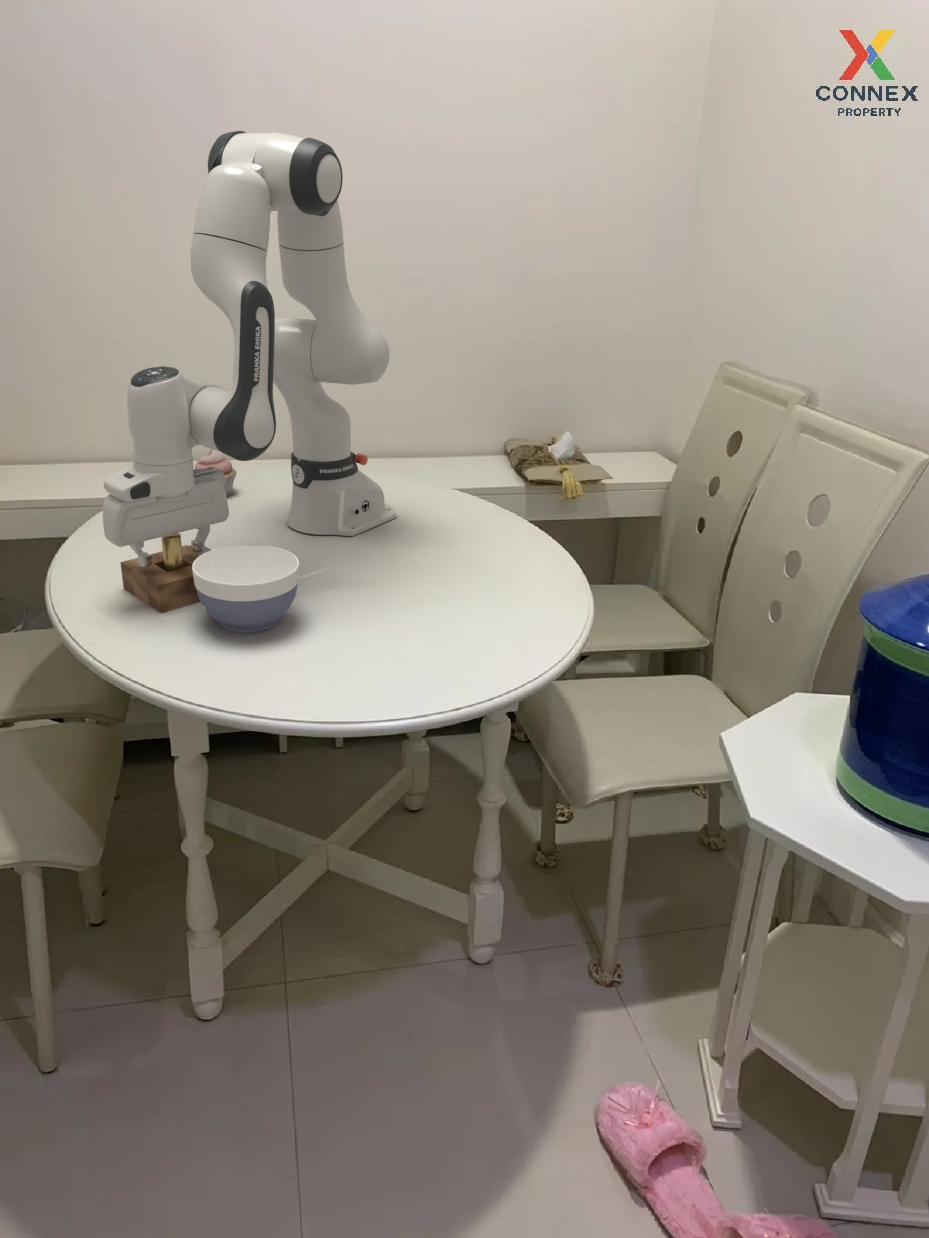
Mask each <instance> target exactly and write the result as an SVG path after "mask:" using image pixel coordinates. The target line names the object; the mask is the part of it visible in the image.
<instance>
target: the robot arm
mask: <svg viewBox="0 0 929 1238" xmlns="http://www.w3.org/2000/svg"><path fill="white" fill-rule="evenodd" d="M334 150H335V149H334V148H333V147H332V146H331V145H329V144H327V143H326V142H323V141H321V140H319V139H316V138H312V137H306V138H304V137H301V136H297V135H292V134H288V133H283V132H277V131H273V132H246V131H243V130H236V131H235V130H234V131H229V132H225V133H222V134H221V135H219V136H218V137H217V138H216V140H215V141H214V143H213V144H212V146H211V148H210V151H209V153H208V158H207V173H208V175H207V177H206V180H205V182H204V185H203V189H202V192H201V195H200V198H199V202H198V207H197V209H196V215H195V221H194V226H193V234H192V238H191V239H192V240H191V248H190V271H191V276H192V279H193V281H194V283H195V284H196V286H197V288H198V289H199V290H200V292H201V293H202V294H203V295H204V296H205V297H206V298H207V299H208V300H209V301H210V302H212V303H213V304H214V305H215V306H216V307H217V308H219V310H220V311H221V312H222V313H223V314H224V315H225V316H226V318H227V320H228V322H229V323H230V325H231V328H232V332H233V338H234V339H233V341H234V342H233V344H234V345H233V372H232V374H233V376H232V386H231V389H228V388H224V387H222V386H218V385H215V384H211V383H207V382H203V381H199V380H196V379H194V378H191V377H189V376H188V375H186V374H184V373H182V372H181V371H180V370H179V369H177V368H176V367H173V366H165V365H164V366H156V367H155V366H153V367H148V368H147V367H146V368H145V369H142V370H140V371H138V372H136V373H135V374H134V375H132V377H131V378H130V380H129V382H128V387H127V397H126V400H127V402H126V403H127V405H126V406H127V407H126V408H127V418H128V421H127V422H128V428H129V432H130V433H129V434H130V435H131V438H132V441H133V451H132V463H130V464H129V465H127V466H125V467H124V468H123V469H121V470H118V471H117V472H115V473H114V474H112V475H110V476H108V477H106V478H105V479H104V481H103V488H104V491H105V492H107V493H108V495H107V496H106V497H105V498H104V501H103V504H102V523H103V534H104V536H105V538H106V539H107V541H108V542H110V543H111V544H112V545H115V546H117V547H119V548H122V547H126V546H129V547H130V548H131V549H132V550H133V551H134V553H135V554H136V555H137V558H138V562H139V565H140V566H142V567H146V566H150V565H152V561H151V560H152V555H150V553H148V552H146V551H145V552H144V551H143V550H142V548H144V547H145V542H147V541H150V540H151V541H152V540H154V539H159V538H161V537H163V536H167V535H171V534H175V533H179V534H180V533H183V532H187V531H191V530H195V529H197V533H196V536H195V538H194V539H192V540H190V545H192V550H193V551H194V552H195V553H199V552H202V551H205V547H206V543H205V542H206V541H207V538H208V537H209V534H210V532H211V527H210V526H212V525H215V524H218V523H224V522H225V521H227V519H228V517H229V515H230V509H229V502H228V496H226V492H225V489H224V486H225V479H224V474H223V472H222V471H221V470H220V469H218V468H216V467H214V466H210V467H207V468H203V469H195V467H194V457H193V448H194V447H196V446H203V447H205V448H208V449H210V450H211V449H214V450H217V451H219V452H220V453H222V454H223V455H226V456H229V457H230V458H233V459H235V460H237V461H239V462H240V461H241V462H249V461H252V460H255V459H257V458H258V457H259V456H261V455H262V454H264V453H265V452H266V451H267V450H268V449H269V447H270V446H271V445H272V442H273V441H274V438H275V435H276V433H277V431H276V430H277V420H276V419H277V417H276V410H275V404H274V403H275V402H274V385H275V386H276V387H277V389H278V391H279V393H281V396H282V398H283V400H284V402H285V403H286V407H287V409H288V413H289V416H290V417H289V418H290V426H291V437H292V452H291V453H290V454H291V455H290V470H291V471H290V473H291V479H292V491H291V492H292V493H291V502H290V508H289V513H288V516H287V520H286V524H287V526H288V527H289V528H290V529H292V530H294V531H298V532H300V533H305V534H311V535H321V536H322V535H323V536H325V535H326V536H327V535H329V536H330V535H332V536H333V535H335V536H336V535H337V536H343V537H344V536H345V537H354V536H356V535H358V534H361V533H363V532H366V531H368V530H370V529H372V528H375V527H377V526H380V525H381V524H385V523H386V522H389V521H390V520H393V519H396V518H397V512H396V510H395V509H394V508H392V507H391V506H389V505H387V504H385V503H386V502H385V496H384V492H383V491H384V490H383V489H382V487H381V486H380V485H379V484H378V483H377V482H376V481H374V479H372V478H370V477H369V476H367V475H366V474H364V473H363V472H362V471H361V470H359V467H358V464H359V465H362V466H366V465H367V464H368V461H369V457H368V456H367V455H366V454H362V453H360V452H359V453H357V454H355V453H354V452H353V451H351V450H352V443H351V440H352V439H351V437H352V434H351V433H352V431H351V429H352V424H351V417H350V415H349V413H348V411H347V409H346V408H345V407H344V406H343V405H342V404H341V403H339V402H337V401H336V400H334V399H332V398H331V397H330V396H329V395H328V394H327V393H326V391H325V389H324V388H323V386H322V383H326V384H327V383H328V384H329V383H330V384H339V385H348V386H349V385H352V386H355V385H363V384H365V385H366V384H370V383H377V382H378V381H379V380H380V379H381V378H382V377H383V376H384V374H385V373H386V371H387V369H388V367H389V363H390V348H389V347H390V346H389V344H388V341H387V339H386V337H385V334H383V332H382V331H381V330H380V329H378V328H377V327H376V326H375V325H373V323H372V322H370V321H369V320H368V319H367V318H366V316H365V315H364V314H363V312H362V311H361V310H360V308H359V307H358V305H357V304H356V302H355V300H354V297H353V295H352V293H351V289H350V285H349V282H348V274H347V265H346V258H345V243H344V241H345V240H344V230H343V224H342V222H343V221H342V216H341V209H340V206H339V197H340V194H341V192H342V189H343V188H342V187H343V168H342V164H341V161H340V159H339V157H338V155H337V153H336V152H335V151H334ZM272 212H277V214H276V215H277V217H276V218H277V220H276V221H277V237H278V239H277V240H278V248H279V249H278V250H279V258H280V259H279V261H280V267H281V278H282V284H283V287H284V289H285V291H286V293H287V294H288V295H289V296H290V297H291V299H292V300H294V301H296V302H298V303H300V304H301V305H303V306H304V307H305V308H306V309H307V310H309V312H310V314H311V315H313V317H314V319H309V318H299V317H297V318H296V317H279V318H276V316H275V315H276V314H275V304H274V300H273V297H272V293H271V292H270V291H269V287H268V282H267V274H266V273H267V272H266V271H267V270H266V269H267V268H266V267H267V256H268V254H267V253H268V248H269V240H270V227H271V213H272ZM216 471H217V472H216Z"/></svg>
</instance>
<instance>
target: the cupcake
mask: <svg viewBox="0 0 929 1238" xmlns="http://www.w3.org/2000/svg"><path fill="white" fill-rule="evenodd" d="M210 466H214V467H216V468H218V469H220V470H221V471H222V472H223V474H224V479H225V486H224V489H225V492H226V497H228V496H230V495H231V494H232V492H233V486H234V483H235V478H236V476H237V473H238V471H237V470H235V468H234V467H233V464H232V462H231V461H230V459H228V458H227V457H225V456H224V454H223V453H222V452H220V451H217V450H214V449H211V448H210V450H209V453H205V454H203V455H202V456H201V457H200V458H199V460H198V461H197V462H196V463H195V464H194V470H195V469H203V468H207V467H210ZM216 472H217V471H216Z"/></svg>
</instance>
